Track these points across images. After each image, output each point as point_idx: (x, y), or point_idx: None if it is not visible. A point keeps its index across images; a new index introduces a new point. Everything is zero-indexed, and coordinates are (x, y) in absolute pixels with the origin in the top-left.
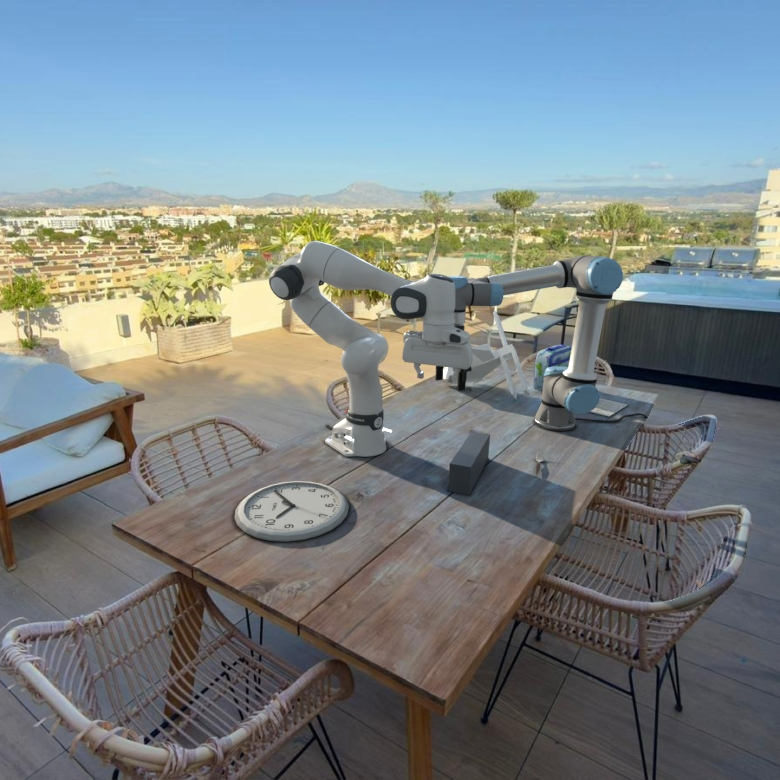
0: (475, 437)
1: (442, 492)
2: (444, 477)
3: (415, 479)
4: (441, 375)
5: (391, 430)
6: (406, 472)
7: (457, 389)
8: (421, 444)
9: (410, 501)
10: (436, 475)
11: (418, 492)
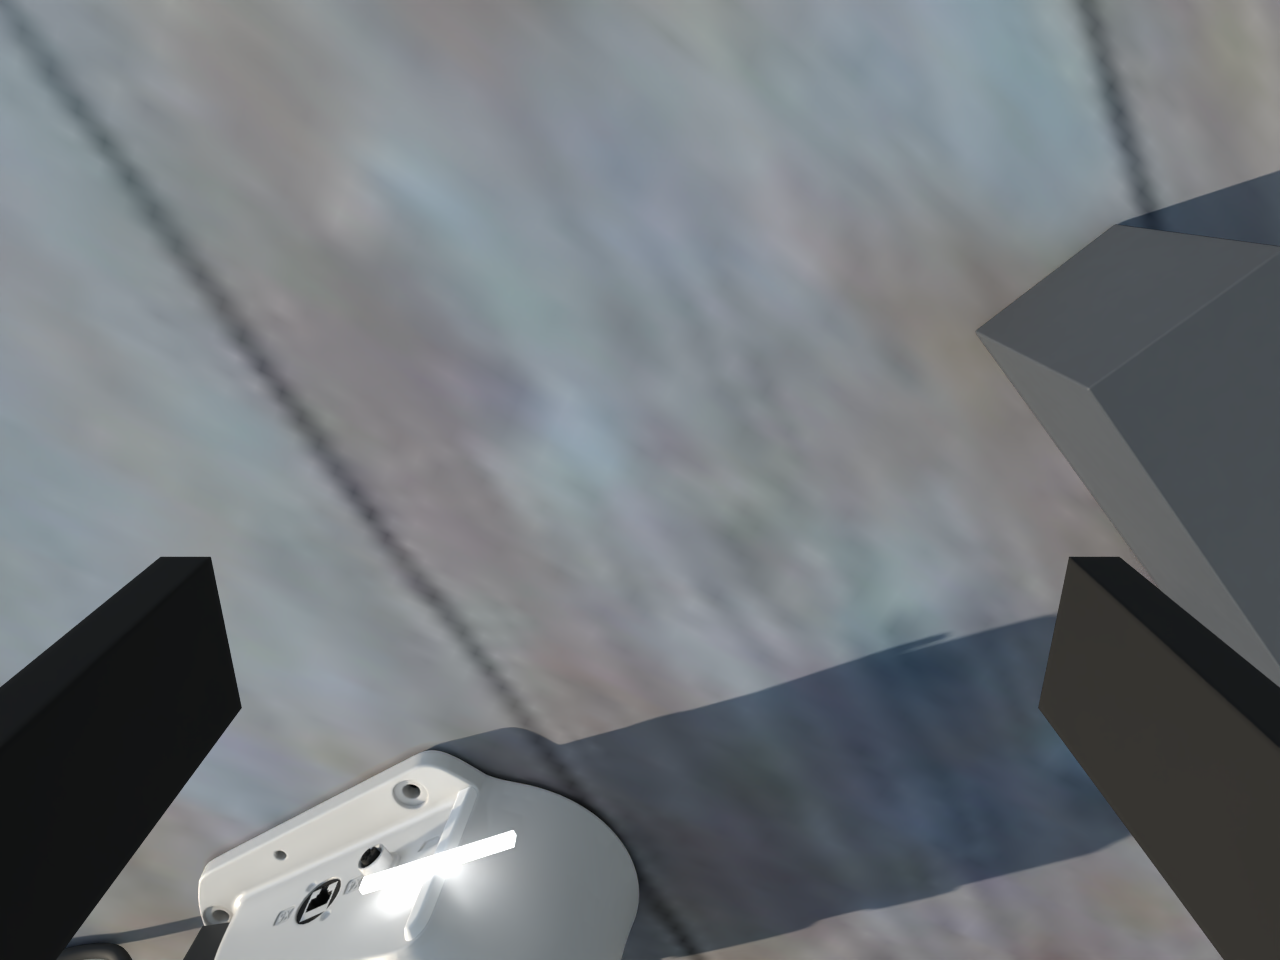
0: (1235, 451)
1: None
2: None
3: (1039, 828)
4: (157, 656)
5: (511, 842)
6: (933, 831)
7: (1063, 726)
8: (590, 554)
9: None
10: None
11: None
